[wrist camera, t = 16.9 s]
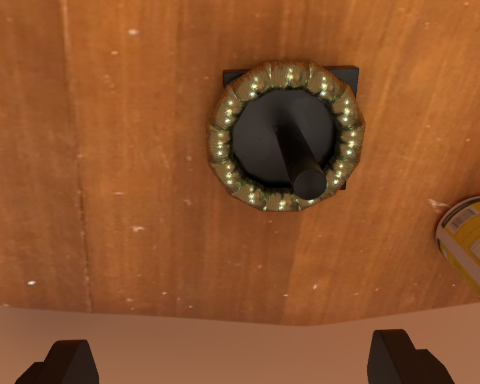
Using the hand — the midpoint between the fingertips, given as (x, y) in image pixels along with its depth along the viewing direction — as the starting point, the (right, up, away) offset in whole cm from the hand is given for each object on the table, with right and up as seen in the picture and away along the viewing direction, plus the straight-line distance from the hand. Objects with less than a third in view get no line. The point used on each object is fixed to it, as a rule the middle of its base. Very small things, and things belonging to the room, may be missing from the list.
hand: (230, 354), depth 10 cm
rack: (+4, +9, +17) cm, 19 cm away
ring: (+3, +8, +15) cm, 17 cm away
